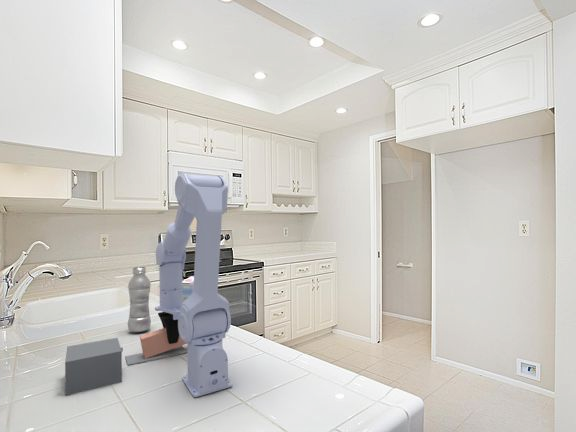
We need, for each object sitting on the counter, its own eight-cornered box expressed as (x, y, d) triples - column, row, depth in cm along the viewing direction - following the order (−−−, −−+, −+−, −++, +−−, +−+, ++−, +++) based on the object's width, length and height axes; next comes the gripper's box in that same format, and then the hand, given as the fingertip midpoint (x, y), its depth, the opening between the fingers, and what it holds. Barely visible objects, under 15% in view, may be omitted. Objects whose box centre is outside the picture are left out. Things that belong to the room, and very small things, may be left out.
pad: (187, 352, 85) (187, 351, 85) (127, 366, 78) (127, 364, 78) (181, 345, 91) (181, 344, 91) (125, 357, 83) (125, 356, 83)
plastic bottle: (135, 328, 107) (135, 266, 107) (155, 328, 106) (154, 266, 106) (123, 334, 101) (122, 269, 101) (143, 335, 100) (143, 269, 100)
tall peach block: (189, 342, 87) (186, 324, 87) (145, 358, 81) (141, 339, 81) (186, 339, 90) (183, 321, 89) (143, 354, 84) (139, 335, 84)
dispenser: (124, 381, 70) (123, 350, 71) (65, 395, 65) (65, 362, 65) (119, 364, 79) (119, 337, 79) (67, 375, 73) (67, 346, 74)
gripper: (150, 286, 91) (150, 335, 90) (160, 295, 78) (161, 353, 78) (176, 283, 94) (176, 331, 94) (190, 291, 82) (190, 346, 82)
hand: (171, 340), depth 86 cm, fingers closed on tall peach block, 3 cm apart
